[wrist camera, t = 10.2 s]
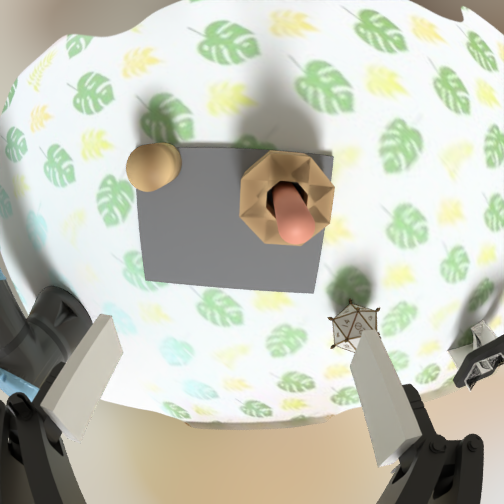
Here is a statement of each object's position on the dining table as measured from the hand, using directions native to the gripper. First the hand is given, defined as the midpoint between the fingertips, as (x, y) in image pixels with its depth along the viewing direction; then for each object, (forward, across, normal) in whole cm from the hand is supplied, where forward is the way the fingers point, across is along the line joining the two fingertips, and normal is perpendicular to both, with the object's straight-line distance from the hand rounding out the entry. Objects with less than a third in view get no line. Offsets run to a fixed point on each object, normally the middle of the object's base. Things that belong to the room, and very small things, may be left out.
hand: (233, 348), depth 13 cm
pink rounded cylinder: (+25, +4, +3) cm, 25 cm away
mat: (+25, -3, -2) cm, 26 cm away
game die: (+25, +17, -16) cm, 34 cm away
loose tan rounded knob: (+25, -12, +6) cm, 28 cm away
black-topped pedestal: (+25, +49, -24) cm, 60 cm away
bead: (+25, +4, +3) cm, 25 cm away
